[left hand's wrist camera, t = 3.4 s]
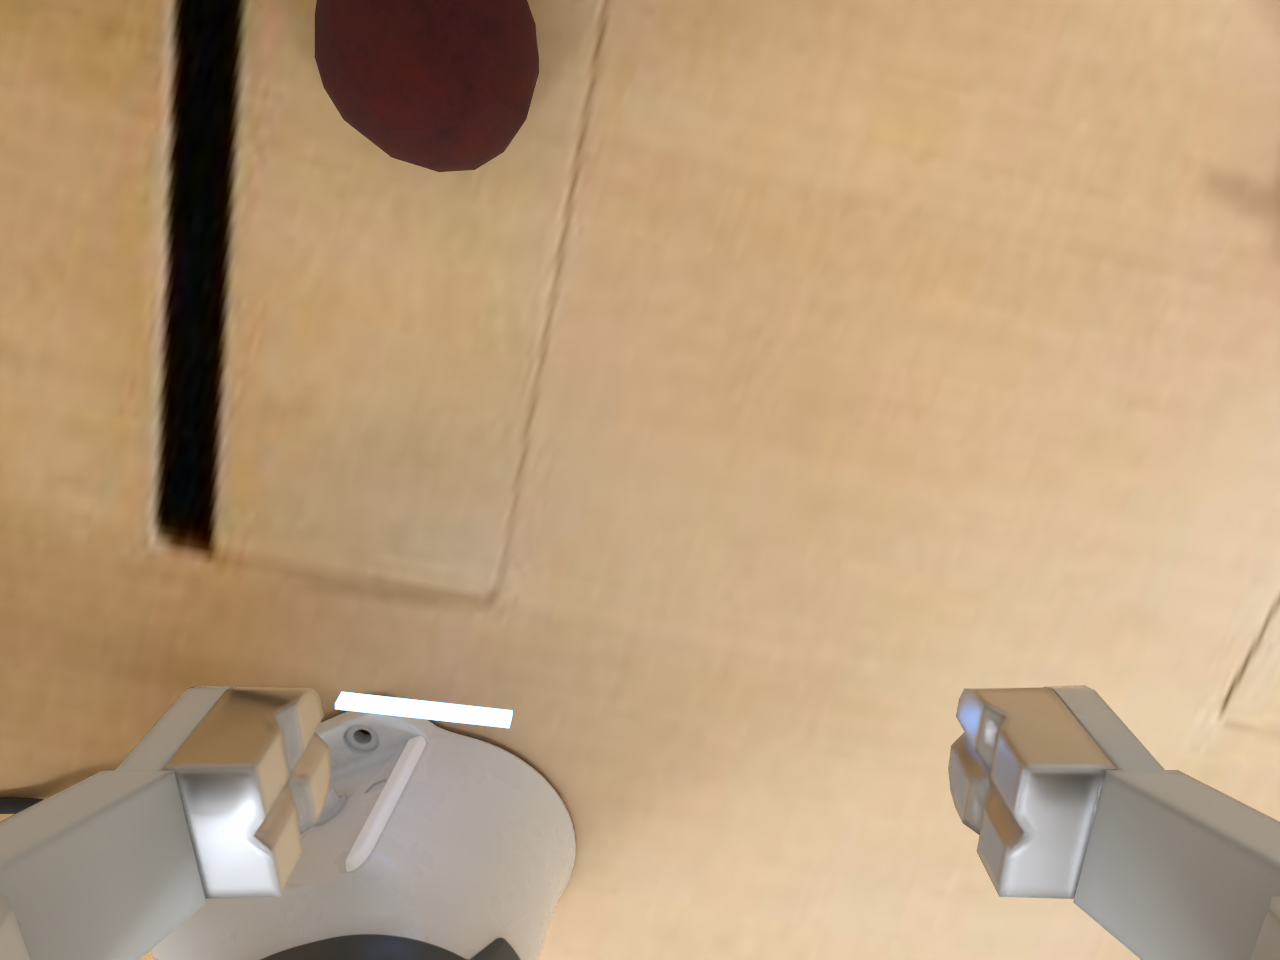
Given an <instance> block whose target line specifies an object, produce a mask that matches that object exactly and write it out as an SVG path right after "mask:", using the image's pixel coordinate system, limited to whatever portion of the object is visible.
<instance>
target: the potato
mask: <svg viewBox="0 0 1280 960" xmlns="http://www.w3.org/2000/svg"><path fill="white" fill-rule="evenodd" d="M315 59H316V62H317V66H318V69H319V72H320V76H321V79H322V82H323V86H324V88H325V90H326V92H327V93H328V95H329V97H330V98H331V100H332V101H333V103H334V105H335V106H336V108H337V110H338V111H339V113H340V114H341V116H342V118H343V119H344V120H345V121H346V122H347V123H349V124H350V125H351V126H352V127H354V128H355V129H356V130H358V131H359V132H360V133H361V134H363V135H364V136H365V137H367V138H368V139H369V140H370V141H372V142H373V143H374V144H375V145H377V146H378V147H379V148H381V149H382V150H383V151H384V152H386V153H387V154H388V155H390V156H391V157H393V158H396V159H399V160H402V161H405V162H409V163H412V164H415V165H418V166H422V167H425V168H428V169H431V170H435V171H438V172H445V171H461V170H475V169H477V168H478V167H480V166H482V165H483V164H485V163H486V162H488V161H490V160H491V159H493V158H495V157H496V156H498V155H499V154H501V153H503V152H504V151H505V149H506V148H507V146H508V145H509V143H510V142H511V141H512V139H513V138H514V136H515V135H516V133H517V132H518V130H519V129H520V127H521V126H522V125H523V123H524V122H525V120H526V118H527V114H528V110H529V107H530V103H531V99H532V96H533V92H534V88H535V85H536V81H537V77H538V74H539V56H538V49H537V40H536V26H535V22H534V19H533V16H532V14H531V11H530V8H529V5H528V2H527V0H317V4H316V11H315Z"/></svg>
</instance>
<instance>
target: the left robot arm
mask: <svg viewBox="0 0 1280 960" xmlns="http://www.w3.org/2000/svg"><path fill="white" fill-rule="evenodd" d="M335 709H338V710H347V711H346V712H344V713H342V714H339V715H337V716H335V717H332V718H330V719H328V720H326V721H323V722H321V721H322V719H323V717H324V714H323V709H322V704H321V700H320V695H319V693H318V692H317V691H315V690H314V689H313V688H304V687H257V686H235V687H232V686H195V687H192V688H189V689H186V690H185V691H184V692H183V693H182V695H181V696H180V697H179V698H178V699H177V700H176V701H175V702H174V704H173V705H172V706H171V707H170V708H169V709H168V710H167V712H166V713H165V714H164V715H163V716H162V717H161V718H160V719H159V721H158V722H157V723H156V724H155V725H154V726H153V727H152V729H151V730H150V731H149V732H148V733H147V734H146V735H145V737H144V738H143V739H142V740H141V741H140V742H139V743H138V744H137V746H136V747H135V748H134V749H133V750H132V751H131V752H130V754H129V755H128V756H127V757H126V758H125V759H124V760H123V761H122V763H121V764H120V765H119V766H118V767H117V768H116V769H115V770H101V771H99V772H97V773H96V774H94V775H92V776H90V777H88V778H86V779H84V780H82V781H80V782H78V783H76V784H74V785H72V786H70V787H68V788H66V789H64V790H62V791H60V792H58V793H56V794H54V795H52V796H50V797H48V798H46V799H35V798H0V814H15V815H13V816H11V817H9V818H7V819H5V820H3V821H1V822H0V960H139V959H141V958H142V957H143V956H144V955H145V954H146V953H148V952H149V951H150V950H151V954H152V957H153V960H539V957H540V953H541V949H542V946H543V943H544V940H545V937H546V934H547V930H548V927H549V924H550V922H551V919H552V916H553V914H554V911H555V908H556V906H557V903H558V901H559V899H560V897H561V895H562V893H563V891H564V889H565V887H566V885H567V883H568V881H569V879H570V877H571V874H572V871H573V867H574V863H575V857H576V838H575V832H574V827H573V824H572V820H571V817H570V815H569V813H568V810H567V808H566V806H565V805H564V803H563V801H562V799H561V798H560V796H559V795H558V793H557V792H556V791H555V789H554V788H553V787H552V786H551V785H550V783H549V782H548V781H547V780H546V779H545V778H544V777H543V776H542V775H541V774H540V773H539V772H537V771H536V770H535V769H534V768H533V767H531V766H530V765H529V764H527V763H526V762H525V761H523V760H521V759H520V758H518V757H517V756H515V755H513V754H512V753H510V752H508V751H506V750H504V749H502V748H500V747H498V746H495V745H493V744H490V743H488V742H485V741H482V740H479V739H475V738H472V737H468V736H464V735H461V734H457V733H454V732H451V731H448V730H445V729H442V728H440V727H438V726H436V725H435V724H433V723H432V722H430V721H429V720H439V721H448V722H457V723H466V724H475V725H484V726H494V727H503V728H509V727H510V723H511V719H512V712H513V710H504V709H495V708H486V707H477V706H468V705H458V704H449V703H440V702H431V701H422V700H413V699H404V698H395V697H386V696H377V695H368V694H358V693H349V692H341V694H340V695H339V697H338V699H337V701H336V702H335ZM956 717H957V719H958V721H959V722H960V724H961V726H962V728H963V729H964V731H965V732H964V733H963V734H962V735H961V736H960V737H959V738H958V739H957V740H956V741H955V742H954V743H953V744H952V745H951V752H950V760H949V779H950V790H951V794H952V797H953V801H954V804H955V808H956V810H957V812H958V814H959V816H960V818H961V820H962V822H963V824H965V825H966V826H968V827H969V828H970V829H972V830H973V831H975V832H976V833H977V834H979V835H980V836H979V842H978V848H977V853H978V855H979V857H980V859H981V861H982V863H983V865H984V867H985V869H986V871H987V873H988V875H989V877H990V879H991V881H992V883H993V885H994V887H995V889H996V891H997V893H998V895H999V897H1028V898H1063V899H1074V903H1075V904H1076V905H1077V906H1078V907H1080V908H1081V909H1082V910H1083V911H1084V912H1085V913H1087V914H1088V915H1089V916H1090V917H1091V918H1093V919H1094V920H1095V921H1096V922H1097V923H1098V924H1100V925H1101V926H1102V927H1103V928H1104V929H1106V930H1107V931H1108V932H1109V933H1110V934H1111V935H1113V936H1114V937H1115V938H1116V939H1117V940H1118V941H1120V942H1121V943H1122V944H1123V945H1124V946H1126V947H1127V948H1128V949H1129V950H1130V951H1131V952H1133V953H1134V954H1135V955H1136V956H1137V957H1139V958H1140V959H1141V960H1280V822H1279V821H1277V820H1275V819H1273V818H1271V817H1269V816H1267V815H1265V814H1263V813H1261V812H1259V811H1257V810H1255V809H1253V808H1251V807H1249V806H1247V805H1245V804H1243V803H1241V802H1240V801H1238V800H1236V799H1234V798H1232V797H1230V796H1228V795H1226V794H1224V793H1222V792H1220V791H1218V790H1216V789H1214V788H1212V787H1210V786H1208V785H1206V784H1204V783H1202V782H1200V781H1198V780H1196V779H1194V778H1192V777H1190V776H1188V775H1186V774H1184V773H1183V772H1181V771H1179V770H1165V769H1164V768H1163V767H1162V766H1161V765H1160V764H1159V763H1158V762H1157V760H1156V759H1155V758H1154V757H1153V756H1152V755H1151V754H1150V752H1149V751H1148V750H1147V749H1146V748H1145V747H1144V746H1143V744H1142V743H1141V742H1140V741H1139V740H1138V739H1137V738H1136V737H1135V735H1134V734H1133V733H1132V732H1131V731H1130V730H1129V729H1128V727H1127V726H1126V725H1125V724H1124V723H1123V722H1122V721H1121V720H1120V718H1119V717H1118V716H1117V715H1116V714H1115V713H1114V712H1113V710H1112V709H1111V708H1110V707H1109V706H1108V705H1107V704H1106V702H1105V701H1104V700H1103V699H1102V698H1101V697H1100V696H1099V695H1098V693H1097V692H1096V691H1095V690H1093V689H1091V688H1089V687H1087V686H1085V685H1080V686H1050V687H1044V688H979V689H964V690H963V692H962V694H961V696H960V698H959V703H958V708H957V714H956ZM428 719H429V720H428ZM320 722H321V723H320ZM360 730H366V731H368V732H369V733H370V734H369V735H368V734H364V733H362V732H361V731H360Z"/></svg>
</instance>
